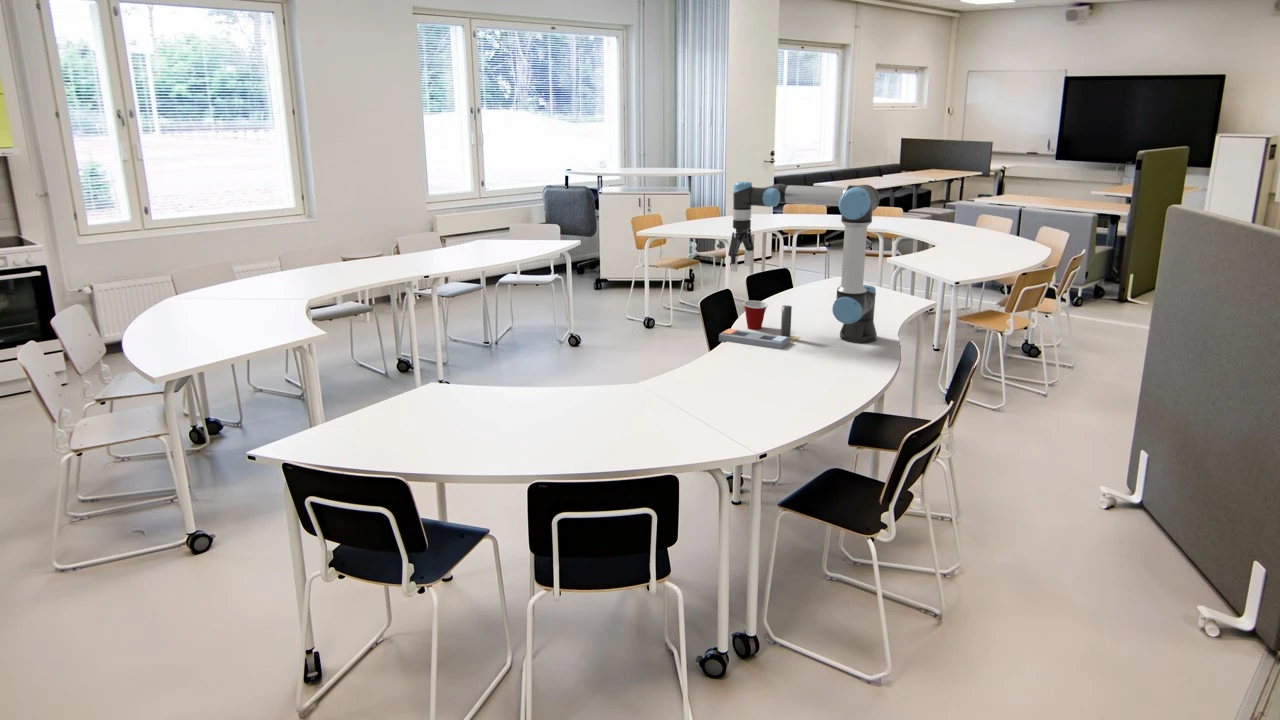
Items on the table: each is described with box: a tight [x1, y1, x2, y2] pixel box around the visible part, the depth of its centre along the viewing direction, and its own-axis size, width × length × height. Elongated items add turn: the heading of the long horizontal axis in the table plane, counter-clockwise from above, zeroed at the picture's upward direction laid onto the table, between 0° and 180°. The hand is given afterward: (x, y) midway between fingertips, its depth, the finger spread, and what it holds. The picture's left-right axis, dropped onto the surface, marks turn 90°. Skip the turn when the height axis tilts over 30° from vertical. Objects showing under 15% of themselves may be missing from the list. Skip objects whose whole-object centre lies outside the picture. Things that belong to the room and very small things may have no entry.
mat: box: [776, 333, 801, 344], centre depth 350 cm, size 10×10×1 cm
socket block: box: [718, 328, 791, 350], centre depth 346 cm, size 28×10×4 cm, turn 59°
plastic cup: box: [742, 300, 769, 331], centre depth 364 cm, size 11×11×12 cm
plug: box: [780, 304, 793, 337], centre depth 347 cm, size 4×4×14 cm
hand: (740, 268), depth 355 cm, fingers open, 13 cm apart
